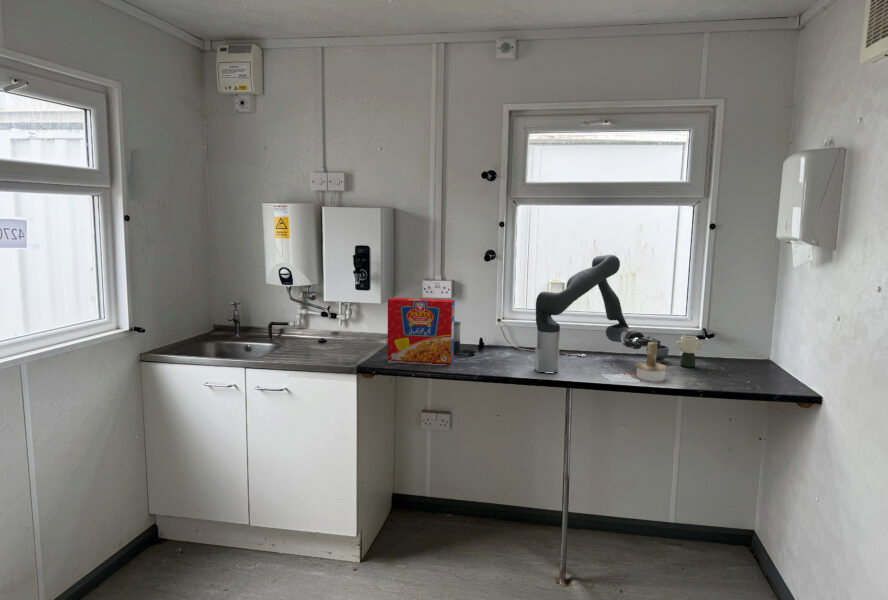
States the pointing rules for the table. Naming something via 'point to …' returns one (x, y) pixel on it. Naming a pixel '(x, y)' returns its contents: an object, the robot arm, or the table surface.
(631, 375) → the mat
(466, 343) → the table surface
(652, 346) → the paper towel holder
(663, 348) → the mortar and pestle
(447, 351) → the pasta box
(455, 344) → the milk frother
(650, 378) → the bowl
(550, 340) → the robot arm
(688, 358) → the character mug
